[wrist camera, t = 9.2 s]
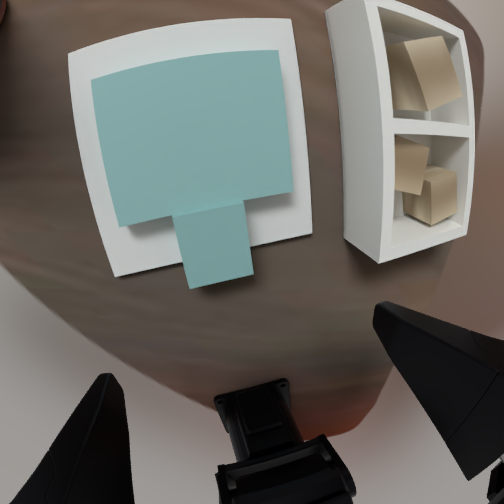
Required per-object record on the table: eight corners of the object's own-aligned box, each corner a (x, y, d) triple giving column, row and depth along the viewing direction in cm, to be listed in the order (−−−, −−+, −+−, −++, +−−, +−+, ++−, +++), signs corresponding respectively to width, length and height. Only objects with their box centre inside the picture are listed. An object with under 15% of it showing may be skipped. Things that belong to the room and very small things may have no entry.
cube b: (390, 184, 17) (420, 195, 15) (356, 177, 17) (386, 188, 14) (397, 141, 16) (429, 147, 14) (364, 131, 15) (395, 134, 13)
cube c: (419, 94, 15) (462, 96, 12) (383, 109, 15) (428, 111, 12) (400, 42, 13) (442, 35, 10) (360, 52, 13) (403, 42, 10)
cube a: (428, 200, 19) (456, 212, 16) (403, 211, 19) (431, 225, 16) (426, 163, 18) (456, 172, 15) (400, 172, 17) (430, 182, 15)
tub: (431, 216, 20) (466, 234, 17) (343, 237, 19) (378, 263, 15) (424, 36, 14) (463, 30, 10) (324, 11, 12) (361, -10, 8)
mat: (309, 231, 18) (312, 233, 17) (116, 273, 16) (115, 277, 15) (288, 21, 12) (290, 19, 12) (70, 55, 10) (68, 53, 9)
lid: (290, 251, 17) (300, 262, 16) (142, 284, 16) (140, 299, 14) (270, 55, 12) (281, 48, 11) (97, 83, 11) (88, 78, 9)
